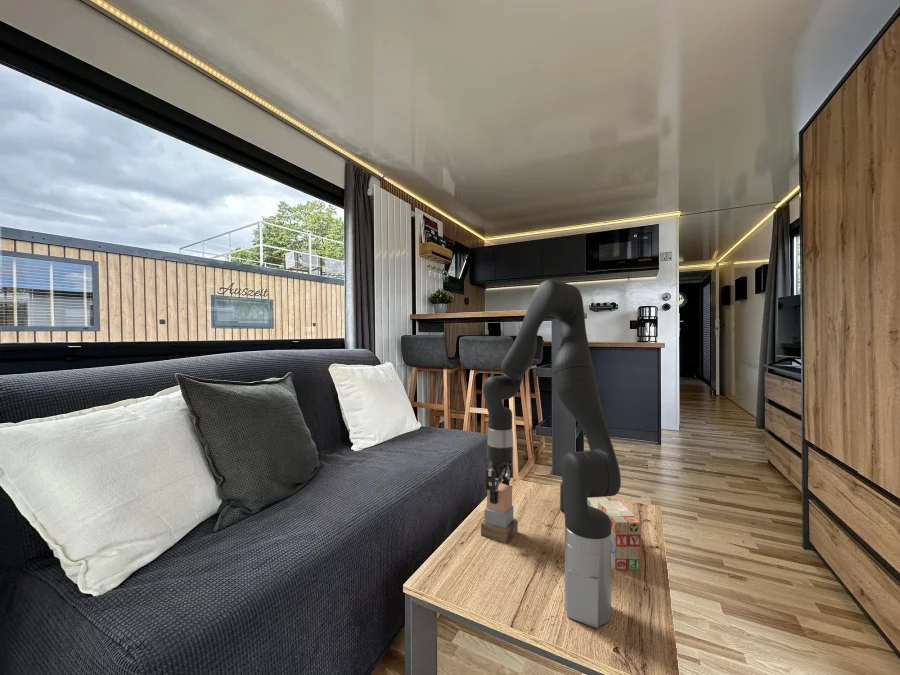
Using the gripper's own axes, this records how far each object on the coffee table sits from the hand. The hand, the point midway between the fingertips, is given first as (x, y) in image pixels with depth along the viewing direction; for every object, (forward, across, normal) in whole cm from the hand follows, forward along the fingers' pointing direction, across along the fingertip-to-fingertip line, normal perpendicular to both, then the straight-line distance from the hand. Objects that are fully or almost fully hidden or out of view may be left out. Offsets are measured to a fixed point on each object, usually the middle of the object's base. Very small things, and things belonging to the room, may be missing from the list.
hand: (499, 498), depth 111 cm
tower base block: (+11, 0, 0) cm, 11 cm away
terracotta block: (+3, 0, 0) cm, 3 cm away
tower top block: (+7, 0, 0) cm, 7 cm away
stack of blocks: (+11, +10, -29) cm, 32 cm away
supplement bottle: (+10, +26, -14) cm, 31 cm away
